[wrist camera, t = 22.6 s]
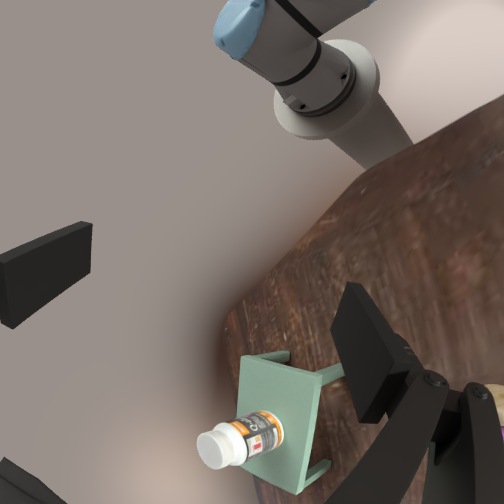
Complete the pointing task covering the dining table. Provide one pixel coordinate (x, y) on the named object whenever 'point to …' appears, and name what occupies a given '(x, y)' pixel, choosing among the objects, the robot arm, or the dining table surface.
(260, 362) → the shelf
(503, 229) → the dining table surface
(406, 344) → the robot arm
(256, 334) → the dining table surface
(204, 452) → the pill bottle
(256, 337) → the dining table surface
